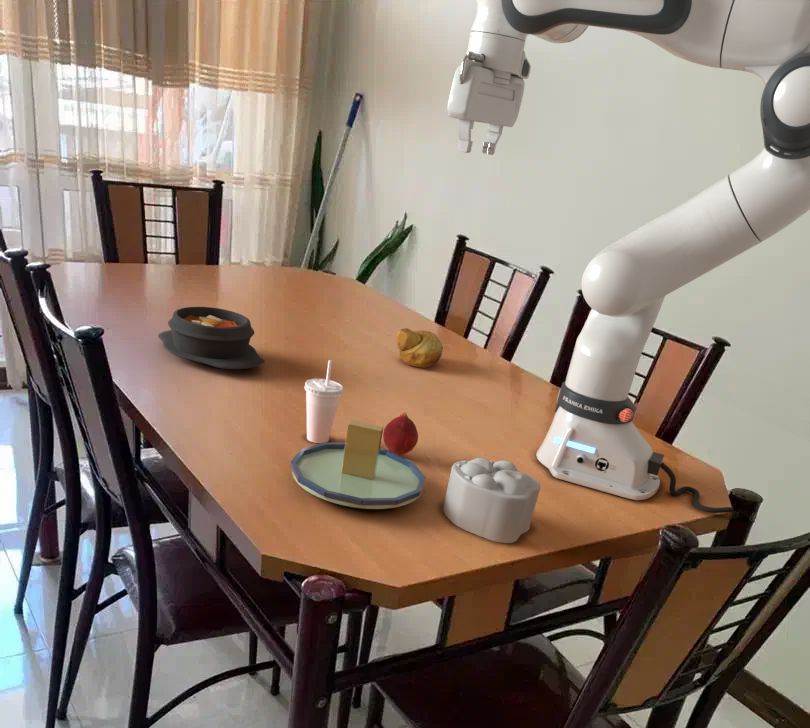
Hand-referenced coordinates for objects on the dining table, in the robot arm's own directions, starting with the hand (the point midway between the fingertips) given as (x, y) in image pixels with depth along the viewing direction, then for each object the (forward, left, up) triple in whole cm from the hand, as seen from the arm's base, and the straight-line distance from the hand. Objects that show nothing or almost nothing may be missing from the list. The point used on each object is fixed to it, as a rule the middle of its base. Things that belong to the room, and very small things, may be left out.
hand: (476, 153), depth 134 cm
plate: (-8, +38, -45) cm, 60 cm away
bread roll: (+18, -29, -47) cm, 58 cm away
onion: (-6, +23, -47) cm, 52 cm away
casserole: (+46, +11, -47) cm, 66 cm away
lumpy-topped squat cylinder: (-27, +33, -47) cm, 63 cm away
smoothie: (+7, +28, -47) cm, 55 cm away
